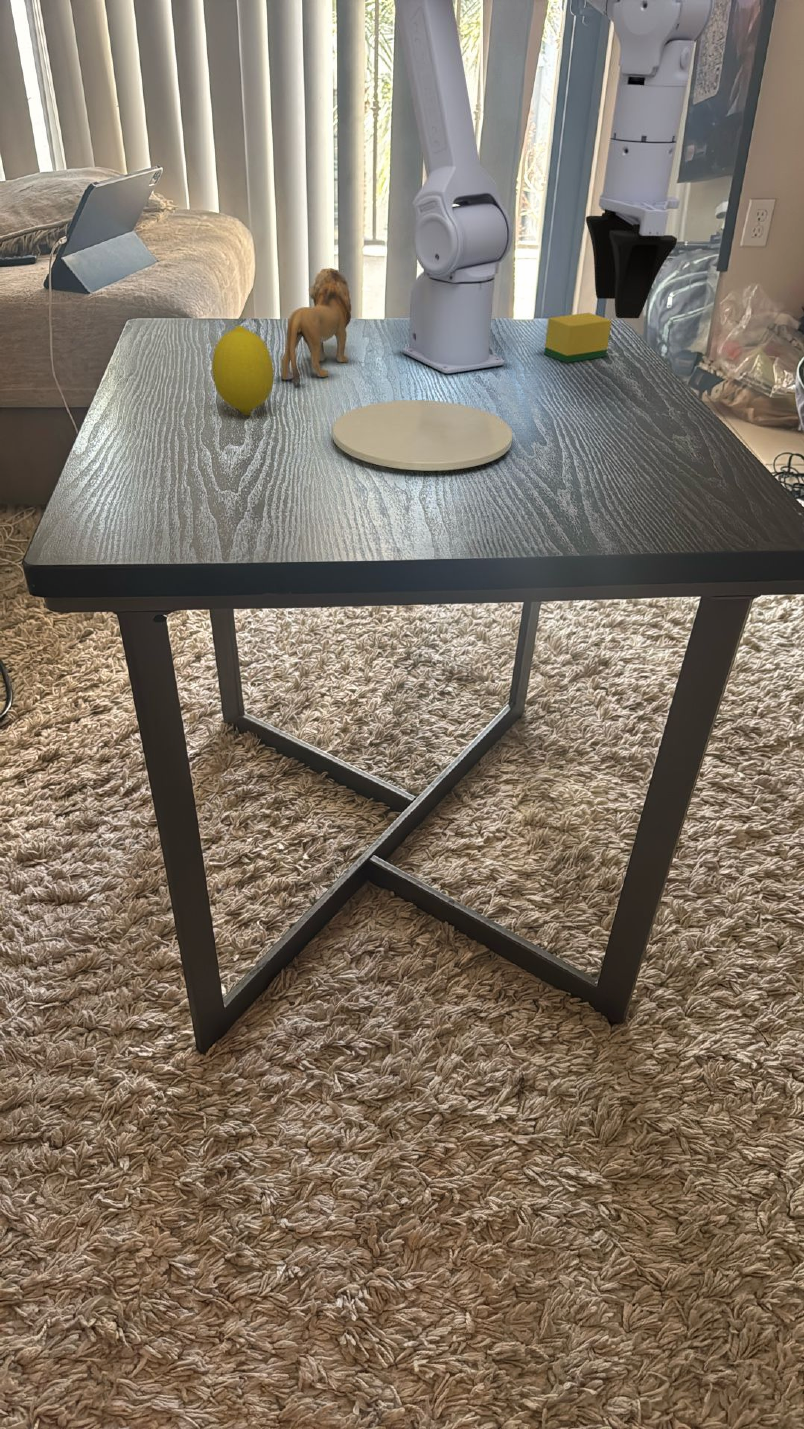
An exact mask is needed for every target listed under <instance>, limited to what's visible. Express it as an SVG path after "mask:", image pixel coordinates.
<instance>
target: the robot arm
mask: <svg viewBox="0 0 804 1429" xmlns="http://www.w3.org/2000/svg"><path fill="white" fill-rule="evenodd" d="M585 1H586V2H587V3H588V4H590V6H592V7H593V8H594V9H596V10H597V11H598V12H600V14H602V15H603V16H604V17H606V18H607V19H608V20H609V21H611V22H612V23H613V24H612V25H613V29H614V33H615V35H616V37H617V39H618V42H619V46H620V47H619V50H620V51H619V57H618V58H619V59H618V66H619V72H618V79H617V86H616V93H615V100H614V108H613V114H612V122H611V129H610V135H609V136H610V138H609V144H608V151H607V158H606V164H605V171H604V179H603V184H602V185H603V186H602V192H601V193H600V195H599V199H598V207H599V208H600V210H602V211H604V212H602V213H601V215H587V216H586V217H585V223H586V226H587V229H588V233H589V236H590V241H591V247H592V254H593V266H594V267H593V269H594V288H595V289H594V290H595V296H596V298H597V299H598V300H602V299H603V300H604V299H607V300H614V313H615V317H616V318H617V319H640V316H641V315H642V312H643V310H644V307H645V305H646V303H647V300H648V298H649V295H650V292H651V290H652V287H653V285H654V282H655V281H656V278H657V277H658V274H659V271H660V270H661V268H662V266H663V265H664V263H665V261H666V260H667V259H668V257H669V255H671V253H672V252H673V250H674V249H675V248H676V246H677V242H678V238H677V237H676V236H674V235H671V234H670V235H669V234H666V229H667V224H668V218H669V212H670V211H669V210H670V209H679V206H680V199H678V198H676V197H673V196H668V193H669V189H670V188H669V187H670V184H671V177H672V172H673V167H674V166H673V165H674V161H675V154H676V149H677V144H678V142H677V141H678V138H679V132H680V127H681V122H682V115H683V111H684V104H685V99H686V95H687V94H686V93H687V87H688V81H689V75H690V70H691V63H692V59H693V53H694V47H695V43H696V42H697V41H699V39H700V38H701V37H702V36H703V35H704V33H705V32H706V30H707V28H708V26H709V24H710V21H711V19H712V16H713V12H714V8H715V0H585ZM393 2H394V3H393V5H394V9H395V14H396V20H397V25H398V31H399V36H400V41H401V47H402V53H403V58H404V62H405V68H406V73H407V78H408V79H407V80H408V84H409V90H410V95H411V100H412V106H413V111H414V116H415V123H416V126H417V133H418V137H419V143H420V148H421V149H420V150H421V153H422V154H421V155H422V159H423V165H424V170H425V175H426V179H425V182H424V183H423V185H422V186H421V188H420V190H419V191H418V193H417V194H416V195H415V197H414V199H413V200H412V208H413V215H414V231H413V249H414V254H415V257H416V259H417V261H418V264H419V265H420V267H421V268H422V269H423V271H422V272H421V273H420V274H418V276H417V277H416V279H415V281H414V283H413V285H412V287H411V291H410V297H409V329H408V346H407V347H402V350H401V352H402V353H403V354H405V355H406V356H409V357H410V358H413V359H415V360H417V361H418V362H421V363H423V364H424V365H427V366H429V367H430V368H433V369H435V370H437V371H440V372H441V373H443V374H455V373H460V372H466V371H473V370H479V369H487V368H492V367H498V366H503V365H505V360H504V359H502V358H500V357H498V356H495V355H493V354H491V353H490V343H491V342H490V341H491V328H492V316H493V307H494V306H493V305H494V304H493V302H494V291H495V280H496V275H497V274H499V268H500V263H501V262H502V261H503V260H504V259H505V258H506V257H507V255H508V254H509V252H510V249H511V247H512V243H513V224H512V221H511V217H510V215H509V213H508V211H507V210H506V208H505V206H504V205H503V202H502V200H501V196H500V195H501V194H500V191H499V185H498V184H497V182H496V180H494V179H493V178H492V176H491V175H490V174H489V173H488V172H487V171H486V170H485V169H484V167H482V165H481V163H480V156H479V151H478V145H477V140H476V133H475V127H474V126H475V125H474V121H473V115H472V110H471V103H470V98H469V90H468V84H467V80H466V79H467V78H466V72H465V67H464V60H463V54H462V49H461V43H460V42H461V41H460V37H459V36H460V35H459V30H458V24H457V18H456V13H455V12H456V11H455V6H454V1H453V0H393ZM453 205H455V206H453Z"/></svg>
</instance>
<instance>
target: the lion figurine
mask: <svg viewBox="0 0 804 1429" xmlns="http://www.w3.org/2000/svg"><path fill="white" fill-rule="evenodd" d="M314 281H315V282H314V283H313V285H312V286H310V287H309V288H308V295H309V297H310V299H312V300H313V304H314V305H313V306H312V307H310V306H305V307H299V308H298V309H296V310H294V311H293V312H292V313H291V314H290V317H289V319H288V322H287V329H286V341H285V342H286V343H285V351H284V354H283V356H282V358H281V379H282V380H291V379H292V380H293V382H294V383H296V384H298V383H300V382H301V374H300V372H299V370H298V365H297V353H296V351H297V350H296V349H297V347H298V345H299V343H300V341H301V339H302V338H303V340H304V342H305V344H306V346H307V348H308V351H309V353H310V366H311V367H312V369H313V371H314V374H315V375H316V376H318V377H320V378H325V377H328V376H329V371H328V370H327V369H325V368H322V367H321V365H320V362H323V361H325V357H326V352H325V346H324V342H327V341H329V340H330V339H332V338H333V337H335V339H336V354H335V357H336V361H337V362H338V363H347V362H349V358H348V357H347V356H346V355H345V351H346V344H347V337H348V336H347V335H348V334H347V331H346V328H347V326H348V325H349V324H350V323H351V319H352V313H351V312H352V303H351V298H350V289H349V285H348V281H347V280H346V278H345V276H344V275H343V274H342V273H340V271H339V270H338V269H335V268H332V267H329V268H322V269H321V270H320V272H318V273H317V274H316V276H315V278H314ZM290 365H291V369H292V372H291V371H290Z"/></svg>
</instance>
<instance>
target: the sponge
mask: <svg viewBox="0 0 804 1429" xmlns="http://www.w3.org/2000/svg"><path fill="white" fill-rule="evenodd" d="M611 328H612V319H608V318H606V317H604V316H603V317H602V316H599V315H598V314H594V313H591V312H582V313H576V314H569V315H568V314H567V315H560V316H553V317H548V319H547V327H546V335H545V345H544V355H546V356H548V357H551V358H553V359H555V360H558V361H560V362H563V363H564V364H568V363H576V362H581V361H587V360H595V359H599V358H606V357H607V353H608V346H609V341H610V340H609V338H610V333H611Z"/></svg>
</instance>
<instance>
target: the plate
mask: <svg viewBox="0 0 804 1429" xmlns="http://www.w3.org/2000/svg"><path fill="white" fill-rule="evenodd" d="M513 437H514V435H513V430H512V428H511V426H510V425H509V424H508V423H507V422H506V421H505V420H503V419H502V418H500V417H498V416H497V415H495V414H493V413H491V412H488V411H485V410H483V409H480V408H476V407H474V406H469V405H464V404H459V403H454V402H447V401H441V400H440V401H438V400H424V399H417V400H416V399H407V400H404V399H403V400H391V401H383V402H376V403H371V404H367V405H364V406H363V405H362V406H360V407H357V408H354V409H351V410H349V411H347V412H345V413H343V414H341V415H340V416H339V417H338V418H337V419H336V420H335V422H334V423H333V426H332V439H333V441H334V443H335V444H336V446H337V447H338V448H339V449H340V450H342V452H344V453H346V454H348V455H349V456H352V457H353V458H356V459H357V460H361V461H362V462H366V463H370V464H374V465H377V466H382V467H387V468H391V469H392V468H393V469H399V470H409V471H425V472H426V471H451V470H452V471H453V470H461V469H467V468H468V469H469V468H471V467H472V468H473V467H477V466H482V465H484V464H487V463H490V462H493V461H495V460H497V459H500V458H501V457H502V456H505V454H506V453H508V452H509V450H510V448H511V447H512V443H513Z"/></svg>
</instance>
